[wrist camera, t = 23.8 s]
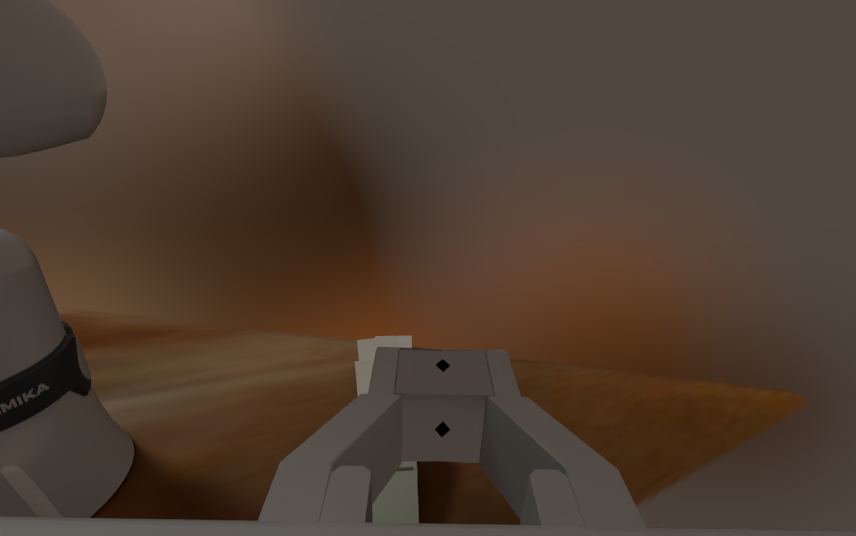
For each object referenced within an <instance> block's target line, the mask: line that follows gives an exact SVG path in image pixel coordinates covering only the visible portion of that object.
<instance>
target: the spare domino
mask: <svg viewBox="0 0 856 536" xmlns="http://www.w3.org/2000/svg"><path fill="white" fill-rule="evenodd" d="M372 515H373V523H419V511H418V486H417V462H416V461H401V465H400V466H399V468H398V469H397V471H396V472H395V474H394V475H393V476H392V478H391V479H390V481H389V482H388V483H387V485H386V486H385V488H384V489H383V490H382V492H381V493H380V495H379V496H378V498H377V499H376V500H375V502H374V503H373V505H372Z"/></svg>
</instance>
